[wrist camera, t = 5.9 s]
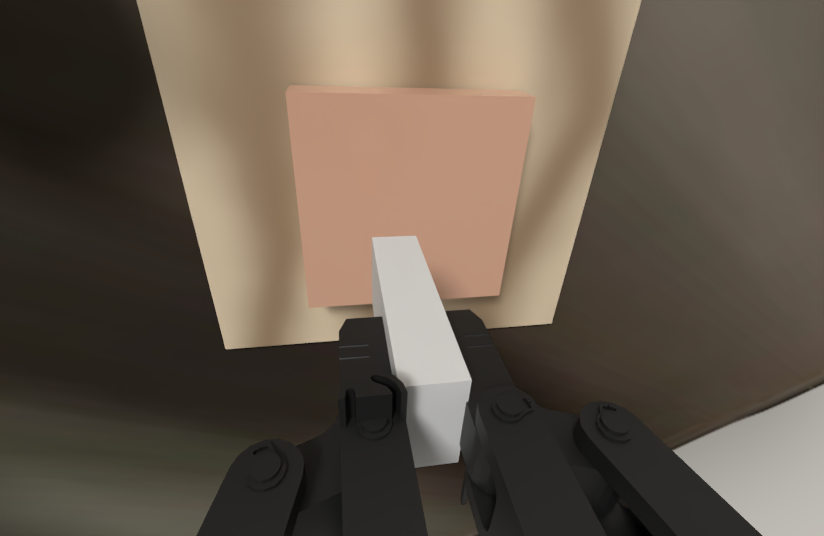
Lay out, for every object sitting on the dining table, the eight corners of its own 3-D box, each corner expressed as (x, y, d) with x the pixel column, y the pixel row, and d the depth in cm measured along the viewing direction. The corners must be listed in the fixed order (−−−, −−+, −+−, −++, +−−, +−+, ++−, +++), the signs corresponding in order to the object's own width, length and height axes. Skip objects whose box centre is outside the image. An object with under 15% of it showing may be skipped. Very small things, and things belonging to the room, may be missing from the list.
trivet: (227, 342, 24) (225, 349, 23) (131, -44, 15) (124, -46, 14) (547, 317, 27) (551, 323, 27) (635, -9, 18) (644, -10, 17)
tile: (308, 307, 20) (499, 295, 22) (285, 92, 15) (535, 96, 17) (310, 285, 22) (487, 275, 24) (289, 84, 17) (517, 89, 19)
